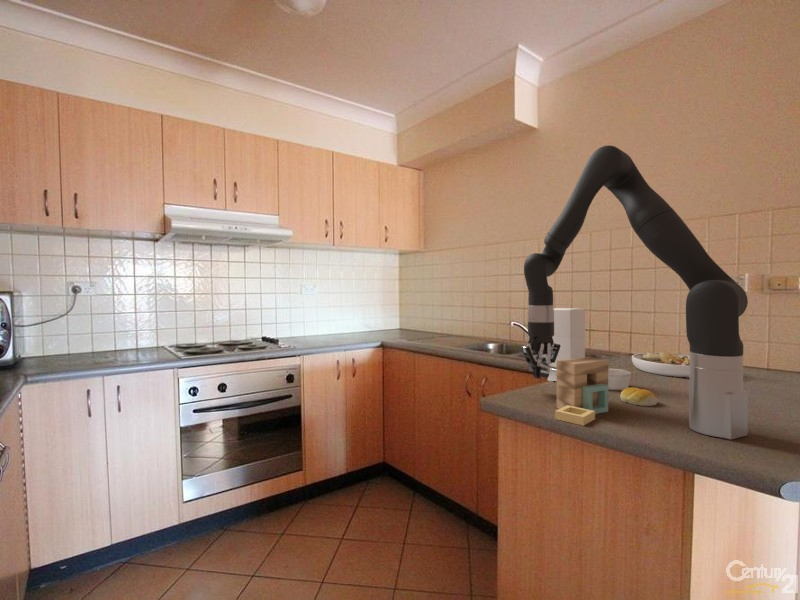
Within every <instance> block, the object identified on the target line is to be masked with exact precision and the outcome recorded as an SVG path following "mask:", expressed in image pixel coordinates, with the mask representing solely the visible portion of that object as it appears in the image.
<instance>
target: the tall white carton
mask: <svg viewBox="0 0 800 600" xmlns="http://www.w3.org/2000/svg"><path fill="white" fill-rule="evenodd" d="M553 309H554V336H553V337H552V338H553V341H554V343H556V344H560V346H561V347H560V349H559V352H558V355H557V358H556V360H555V362H554V363H551V364H550V365H549V366H553V367H557V360H564V359H574V358H584V357H586V309H585V308H583V307H582V308H581V307H579V308H576V307H574V308H573V307H555V308H554V307H553ZM552 356H553V355H552ZM551 358H552V357H551ZM551 381H557V376H554V375H551V374H549V377H548V378H547V382H551Z"/></svg>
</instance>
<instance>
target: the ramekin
mask: <svg viewBox="0 0 800 600" xmlns="http://www.w3.org/2000/svg"><path fill="white" fill-rule="evenodd" d="M631 377H632V372H631V371H628V370H626V369H621V368H620V369H619V368H609V367H608V391H623V390H624V389H626V388H630V381H631Z"/></svg>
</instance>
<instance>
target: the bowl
mask: <svg viewBox="0 0 800 600" xmlns="http://www.w3.org/2000/svg"><path fill="white" fill-rule="evenodd" d="M631 361H632V363H633V366H635V367H636V368H637V369H638V370H640V371H642V372H644V373H649V374H654V375H659V376H664V377H665V376H666V377H672V376H673V378H682V377H686V379H689V376H690V354H687V353H684V354H683V353H671V352H665V351H662V352H661V351H659V352H643V353H635V354H633V355H631Z"/></svg>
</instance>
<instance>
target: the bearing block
mask: <svg viewBox="0 0 800 600" xmlns="http://www.w3.org/2000/svg"><path fill="white" fill-rule="evenodd" d="M608 368H609V360H608V359H604V358H599V357H597V358H596V357H592V356H585V357H584V358H574V359H564V360H557V383H556V408H557V409H560V408H562V407H565V406H567V405H569V406H574V407H579V408H583V386H589V385H596V384H605V385H608ZM593 406H598V392H593Z"/></svg>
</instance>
